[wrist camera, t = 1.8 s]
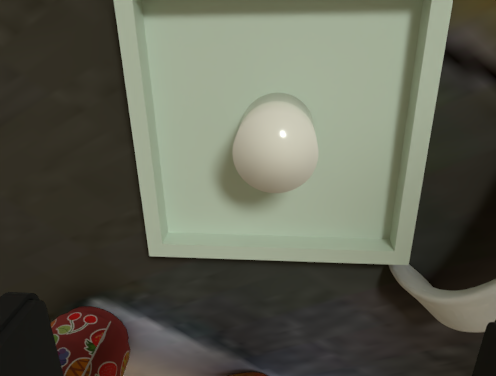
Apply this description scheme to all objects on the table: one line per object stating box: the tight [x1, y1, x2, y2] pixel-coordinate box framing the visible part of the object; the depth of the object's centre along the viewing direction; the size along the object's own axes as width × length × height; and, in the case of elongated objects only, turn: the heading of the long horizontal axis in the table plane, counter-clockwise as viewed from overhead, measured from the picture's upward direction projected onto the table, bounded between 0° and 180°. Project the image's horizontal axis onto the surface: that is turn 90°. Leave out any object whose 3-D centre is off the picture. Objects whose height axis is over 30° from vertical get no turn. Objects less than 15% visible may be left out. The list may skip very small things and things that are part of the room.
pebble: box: [232, 93, 318, 193], centre depth 24 cm, size 4×4×4 cm
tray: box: [114, 0, 453, 265], centre depth 26 cm, size 17×17×2 cm
